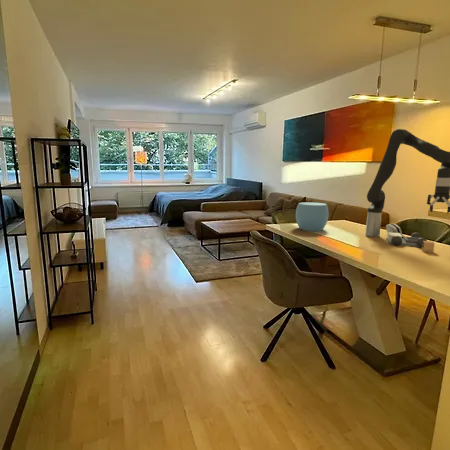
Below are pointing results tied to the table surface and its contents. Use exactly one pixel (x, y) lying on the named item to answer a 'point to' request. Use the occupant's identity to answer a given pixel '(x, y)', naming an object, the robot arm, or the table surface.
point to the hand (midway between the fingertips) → (439, 212)
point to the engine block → (427, 246)
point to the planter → (312, 216)
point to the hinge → (394, 228)
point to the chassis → (405, 239)
